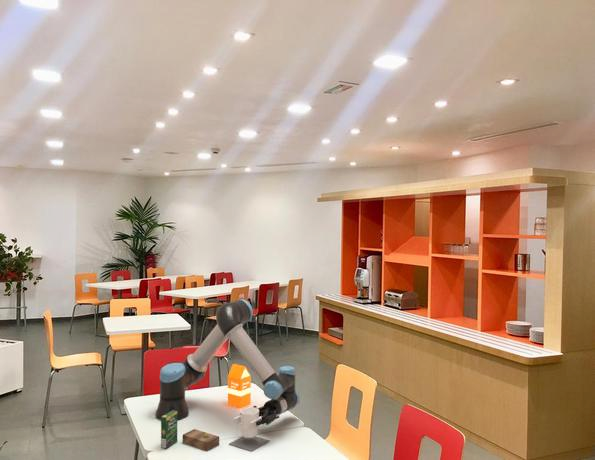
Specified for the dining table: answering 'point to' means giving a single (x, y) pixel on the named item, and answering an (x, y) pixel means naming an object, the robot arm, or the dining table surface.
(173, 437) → the coffee box
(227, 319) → the robot arm
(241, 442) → the mat
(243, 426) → the white cup
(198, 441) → the walnut block
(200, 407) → the dining table surface
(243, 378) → the orange juice
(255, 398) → the dining table surface
